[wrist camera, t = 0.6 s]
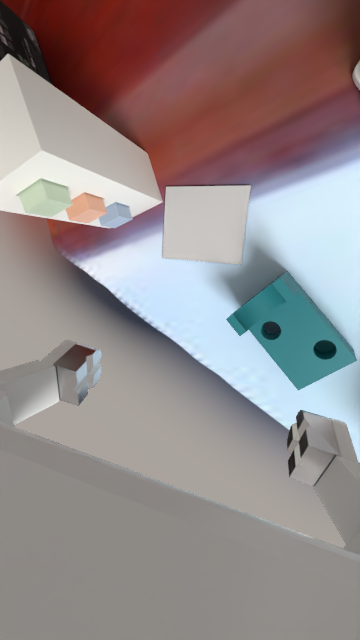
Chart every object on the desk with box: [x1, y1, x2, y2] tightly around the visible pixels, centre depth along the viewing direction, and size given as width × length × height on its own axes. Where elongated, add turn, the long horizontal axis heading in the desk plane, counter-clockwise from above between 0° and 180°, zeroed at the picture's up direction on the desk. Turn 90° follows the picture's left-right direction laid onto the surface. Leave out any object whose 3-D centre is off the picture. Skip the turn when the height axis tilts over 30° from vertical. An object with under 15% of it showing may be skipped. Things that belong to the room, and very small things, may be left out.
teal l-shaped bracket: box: [226, 271, 357, 390], centre depth 48 cm, size 18×11×10 cm, turn 42°
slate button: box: [99, 202, 132, 228], centre depth 52 cm, size 5×4×4 cm
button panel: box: [0, 54, 163, 228], centre depth 46 cm, size 10×14×30 cm
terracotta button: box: [66, 192, 107, 223], centre depth 45 cm, size 5×4×4 cm
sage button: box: [18, 178, 73, 217], centre depth 38 cm, size 5×4×4 cm
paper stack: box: [162, 185, 251, 264], centre depth 52 cm, size 23×25×1 cm
